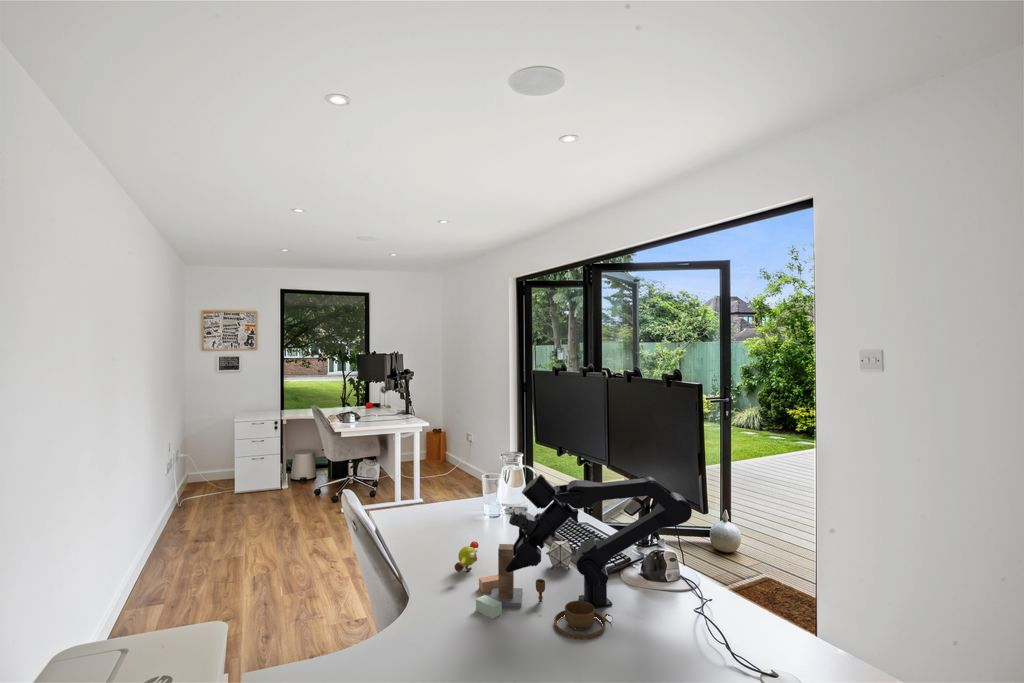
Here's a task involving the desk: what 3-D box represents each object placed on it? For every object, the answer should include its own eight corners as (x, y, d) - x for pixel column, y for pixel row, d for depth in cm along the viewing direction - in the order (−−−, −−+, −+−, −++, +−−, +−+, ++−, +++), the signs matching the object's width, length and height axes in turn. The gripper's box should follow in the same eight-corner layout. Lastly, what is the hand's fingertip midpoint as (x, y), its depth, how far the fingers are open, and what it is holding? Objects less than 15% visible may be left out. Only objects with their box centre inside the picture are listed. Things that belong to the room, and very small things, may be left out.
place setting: (546, 645, 122) (546, 618, 122) (532, 601, 142) (531, 579, 142) (623, 639, 125) (623, 613, 125) (598, 597, 144) (598, 574, 144)
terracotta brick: (499, 585, 151) (499, 574, 151) (503, 589, 148) (503, 578, 148) (479, 589, 149) (478, 578, 149) (482, 593, 146) (482, 582, 146)
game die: (564, 577, 163) (582, 547, 166) (564, 579, 155) (583, 547, 158) (539, 559, 166) (556, 530, 168) (537, 560, 158) (556, 529, 160)
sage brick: (501, 614, 135) (501, 602, 135) (493, 619, 133) (493, 607, 133) (484, 606, 139) (484, 594, 139) (475, 611, 137) (475, 599, 137)
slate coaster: (522, 592, 146) (522, 588, 146) (521, 607, 138) (521, 603, 138) (492, 592, 146) (492, 587, 146) (489, 607, 138) (489, 602, 138)
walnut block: (513, 592, 144) (513, 544, 144) (512, 598, 140) (512, 549, 140) (499, 591, 144) (499, 543, 144) (498, 598, 140) (498, 549, 140)
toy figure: (468, 585, 151) (468, 560, 151) (449, 583, 152) (448, 558, 152) (485, 558, 168) (484, 536, 168) (467, 557, 169) (467, 535, 169)
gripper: (528, 488, 151) (488, 528, 152) (526, 510, 132) (481, 555, 133) (558, 517, 150) (518, 557, 151) (560, 543, 132) (514, 588, 133)
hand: (507, 563), depth 142 cm, fingers open, 9 cm apart
